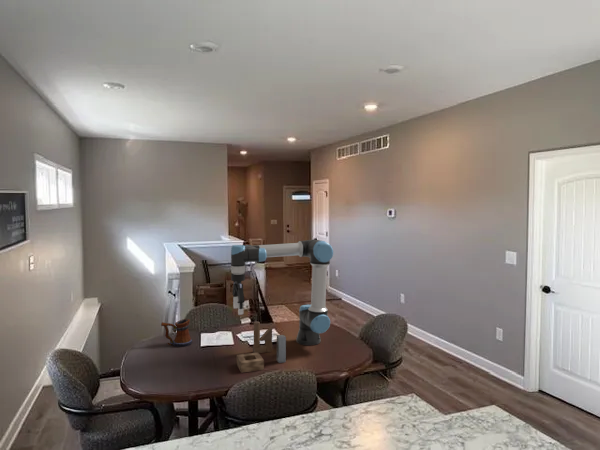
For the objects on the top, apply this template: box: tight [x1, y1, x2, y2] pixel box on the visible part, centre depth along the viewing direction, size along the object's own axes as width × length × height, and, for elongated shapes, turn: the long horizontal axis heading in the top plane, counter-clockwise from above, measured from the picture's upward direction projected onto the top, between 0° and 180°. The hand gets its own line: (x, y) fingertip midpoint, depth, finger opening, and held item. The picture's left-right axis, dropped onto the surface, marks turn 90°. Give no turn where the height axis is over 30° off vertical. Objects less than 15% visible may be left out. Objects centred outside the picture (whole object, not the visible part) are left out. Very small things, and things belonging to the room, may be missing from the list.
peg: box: [276, 334, 287, 364], centre depth 233 cm, size 4×4×14 cm
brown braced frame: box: [252, 321, 273, 354], centre depth 247 cm, size 4×11×18 cm, turn 111°
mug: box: [160, 318, 193, 348], centre depth 258 cm, size 18×12×15 cm, turn 108°
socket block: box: [236, 352, 265, 374], centre depth 225 cm, size 12×12×5 cm
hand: (238, 311), depth 234 cm, fingers open, 13 cm apart
